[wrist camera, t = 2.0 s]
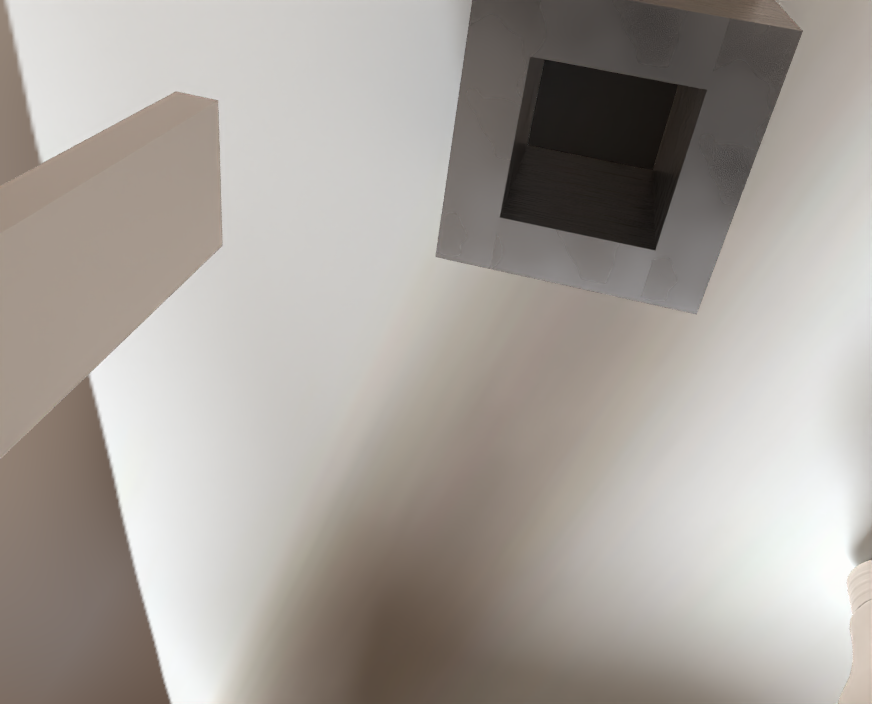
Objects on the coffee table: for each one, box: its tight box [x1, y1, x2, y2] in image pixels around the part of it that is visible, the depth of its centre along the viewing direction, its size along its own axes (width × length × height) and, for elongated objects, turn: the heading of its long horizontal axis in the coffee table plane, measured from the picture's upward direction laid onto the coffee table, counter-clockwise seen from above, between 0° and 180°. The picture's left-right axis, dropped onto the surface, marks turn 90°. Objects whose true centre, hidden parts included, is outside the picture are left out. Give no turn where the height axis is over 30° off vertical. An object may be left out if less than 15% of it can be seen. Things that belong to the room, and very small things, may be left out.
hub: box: [436, 0, 803, 314], centre depth 21 cm, size 7×7×6 cm
